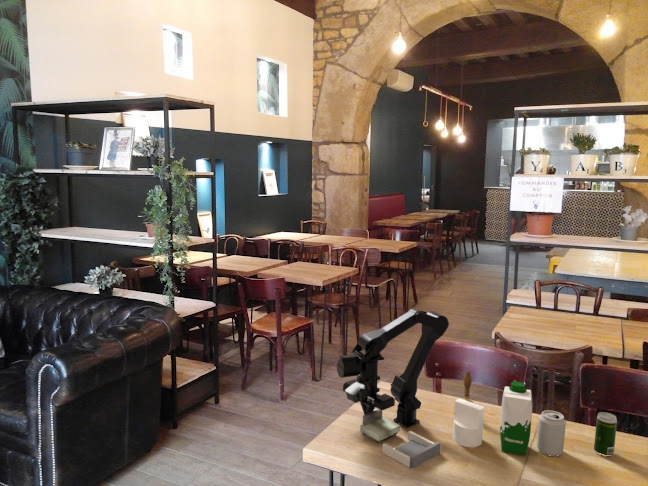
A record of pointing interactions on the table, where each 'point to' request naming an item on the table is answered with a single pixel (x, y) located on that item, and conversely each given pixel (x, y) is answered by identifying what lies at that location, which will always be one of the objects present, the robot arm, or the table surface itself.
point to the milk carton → (516, 418)
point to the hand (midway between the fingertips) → (367, 418)
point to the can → (551, 433)
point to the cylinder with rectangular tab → (468, 423)
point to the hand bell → (467, 386)
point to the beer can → (605, 433)
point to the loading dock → (413, 450)
